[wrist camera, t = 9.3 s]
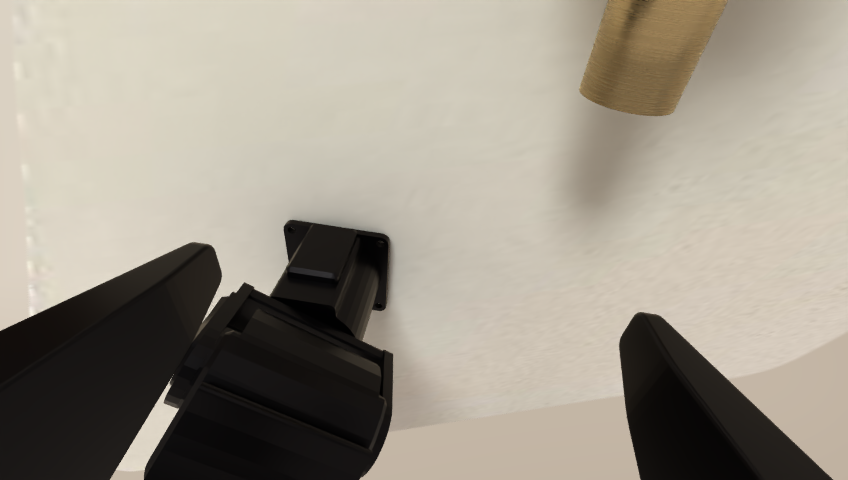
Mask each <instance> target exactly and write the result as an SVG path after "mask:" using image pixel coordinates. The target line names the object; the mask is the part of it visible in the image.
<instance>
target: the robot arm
mask: <svg viewBox="0 0 848 480" xmlns="http://www.w3.org/2000/svg"><path fill="white" fill-rule="evenodd" d="M291 227H292V228H294V229H295V230H293V229H292V228H291ZM284 235H285V241H286V247H287V254H288V260H289V263H288V265H287V267H286V269H285V271H284V273H283V274H282V276H281V278H280V279H279V281H278V283H277V284H276V286H275V288H274V289H273V291H272V293H271V294H270V296H267V295H265V294H263V293H261V292H259V291H257V290H255V289H254V287H253V286H251V285H249V284H247V283H245V282H244V284H243V285H242V286H241V287H240V289H239V290H238V291H237V292H236V293H235V292H232V293H231V294H230V296H228V297H221V299H220V300H219V301H218V303H217V304H216V306H215V307H214V308H213V310H212V311H211V313H210V314H209V315H208V317H207V318H206V319H205V320H204V321H203V319H204V317H205V315H206V313H207V311H208V309H209V306H210V304H211V302H212V300H213V298H214V296H215V294H216V291H217V289H218V287H219V285H220V282H221V278H222V272H221V269H220V265H219V262H218V259H217V256H216V252H215V249H214V248H213V247H212V246H211V245H209V244H203V243H196V242H192V243H189V244H186V245H184V246H182V247H180V248H178V249H176V250H173V251H171V252H169V253H167V254H165V255H163V256H161V257H158V258H156V259H154V260H152V261H150V262H148V263H145V264H143V265H141V266H139V267H137V268H135V269H133V270H130V271H128V272H126V273H124V274H122V275H120V276H118V277H115V278H113V279H111V280H109V281H107V282H105V283H102V284H100V285H98V286H96V287H94V288H92V289H90V290H87V291H85V292H83V293H81V294H79V295H77V296H74V297H72V298H70V299H68V300H66V301H64V302H62V303H59V304H57V305H55V306H53V307H51V308H49V309H46V310H44V311H42V312H40V313H38V314H36V315H34V316H31V317H29V318H27V319H25V320H23V321H21V322H18V323H17V324H14V325H12V326H10V327H8V328H6V329H4V330H1V331H0V480H110V478H111V476H112V475H113V473H114V472H115V470H116V468H117V467H118V465H119V463H120V462H121V460H122V459H123V457H124V455H125V454H126V452H127V450H128V449H129V447H130V445H131V444H132V442H133V440H134V439H135V437H136V435H137V434H138V432H139V430H140V429H141V427H142V425H143V424H144V422H145V421H146V419H147V417H148V416H149V414H150V412H151V411H152V409H153V407H154V406H155V404H156V402H157V401H158V399H159V397H160V396H161V394H162V392H163V391H164V389H165V388H166V386H167V384H168V383H169V381H170V379H171V378H172V379H171V381H170V385H171V387H170V389H169V391H168V393H167V395H166V397H165V400H164V403H165V404H167V405H170V406H172V407H175V408H178V409H179V410H178V412H177V413H176V415H175V417H174V419H173V420H172V422H171V424H170V425H169V427H168V429H167V430H166V432H165V434H164V435H163V437H162V439H161V440H160V442H159V444H158V446H157V447H156V449H155V451H154V452H153V454H152V456H151V457H150V459H149V461H148V463H147V465H146V467H145V472H144V480H359V479H360V478H361V477H363V476H364V475H365V474H366V473H367V472H368V471H369V470H370V468H371V467H372V466H373V464H374V463H375V461H376V459H377V457H378V455H379V453H380V451H381V449H382V447H383V444H384V442H385V439H386V436H387V433H388V430H389V426H390V422H391V417H392V393H393V354H392V353H390V352H388V351H386V350H383V351H382V350H380V349H378V348H376V347H374V346H371V345H369V344H367V343H365V342H363V341H362V340H363V337H364V334H365V330H366V327H367V324H368V320H369V317H370V314H371V311H372V310H377V311H382V310H384V309H385V308H386V304H387V290H388V270H389V250H390V239H389V237H388V236H386V235H385V234H381V233H375V232H368V231H362V230H355V229H349V228H342V227H335V226H329V225H322V224H316V223H309V222H303V221H296V220H289V221H288V222H287V223H286V224H285V226H284ZM379 241H383V242H384V243H380V242H379ZM378 303H379V304H378ZM202 321H203V323H202ZM619 350H620V359H621V369H622V378H623V388H624V397H625V406H626V413H627V419H628V424H629V430H630V434H631V439H632V443H633V447H634V452H635V457H636V461H637V466H638V470H639V475H640V479H641V480H833V479H832V478H831V477H830V476H829V475H828V474H826V473H825V472H824V471H823V470H822V469H821V468H820V467H819V466H818V465H817V464H816V463H815V462H814V461H813V460H812V459H811V458H810V457H809V456H808V455H806V454H805V453H804V452H803V451H802V450H801V449H800V448H799V447H798V446H797V445H796V444H795V443H794V442H793V441H791V439H790V438H789V437H787V436H786V435H785V434H784V433H783V432H782V431H781V430H780V429H779V428H778V427H777V426H776V425H775V424H774V423H773V422H772V421H771V420H770V419H769V418H767V417H766V416H765V415H764V414H763V413H762V412H761V411H760V410H759V409H758V408H757V407H756V406H755V405H754V404H753V403H752V402H751V401H750V400H749V399H747V398H746V397H745V396H744V395H743V394H742V393H741V392H740V391H739V390H738V389H737V388H736V387H735V386H734V385H733V384H732V383H731V382H730V381H729V380H728V379H726V378H725V377H724V376H723V375H722V374H721V373H720V372H719V371H718V370H717V369H716V368H715V367H714V366H713V365H712V364H711V363H710V362H709V361H708V360H706V359H705V358H704V357H703V356H702V355H701V354H700V353H699V352H698V351H697V350H696V349H695V348H694V347H693V346H692V345H691V344H690V343H689V342H688V341H686V340H685V339H684V338H683V337H682V336H681V335H680V334H679V333H678V332H677V331H676V330H675V329H674V328H673V327H672V326H671V325H670V324H669V323H668V322H666V321H665V320H664V319H663V318H662V317H661V316H659V315H656V314H650V313H644V312H639V313H637V314H635V315H634V317H633V318H632V320H631V321H630V323H629V325H628V326H627V328H626V329H625V331H624V333H623V334H622V336H621V338H620V343H619ZM173 374H174V375H173ZM172 376H173V377H172Z"/></svg>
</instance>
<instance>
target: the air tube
mask: <svg viewBox="0 0 848 480" xmlns="http://www.w3.org/2000/svg"><path fill="white" fill-rule="evenodd" d="M727 1H728V0H608V3H607V6H606V9H605V12H604V15H603V18H602V21H601V24H600V27H599V30H598V33H597V36H596V39H595V42H594V46H593V49H592V52H591V55H590V58H589V61H588V64H587V67H586V70H585V73H584V76H583V79H582V82H581V85H580V88H579V91H580V93H581V94H582V95H583V96H584V97H586V98H587V99H589V100H591V101H593V102H595V103H597V104H599V105H602V106H605V107H607V108H611V109H614V110H618V111H622V112H626V113H631V114H637V115H646V116H663V115H668V114H671V113H673V112H674V110H675V108H676V106H677V104H678V102H679V99H680V97H681V95H682V93H683V91H684V89H685V87H686V85H687V83H688V81H689V79H690V77H691V75H692V73H693V71H694V69H695V67H696V65H697V63H698V61H699V59H700V57H701V55H702V52H703V50H704V48H705V46H706V44H707V42H708V40H709V38H710V36H711V34H712V32H713V30H714V28H715V26H716V24H717V22H718V20H719V18H720V16H721V14H722V12H723V10H724V8H725V5H726V3H727Z"/></svg>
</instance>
